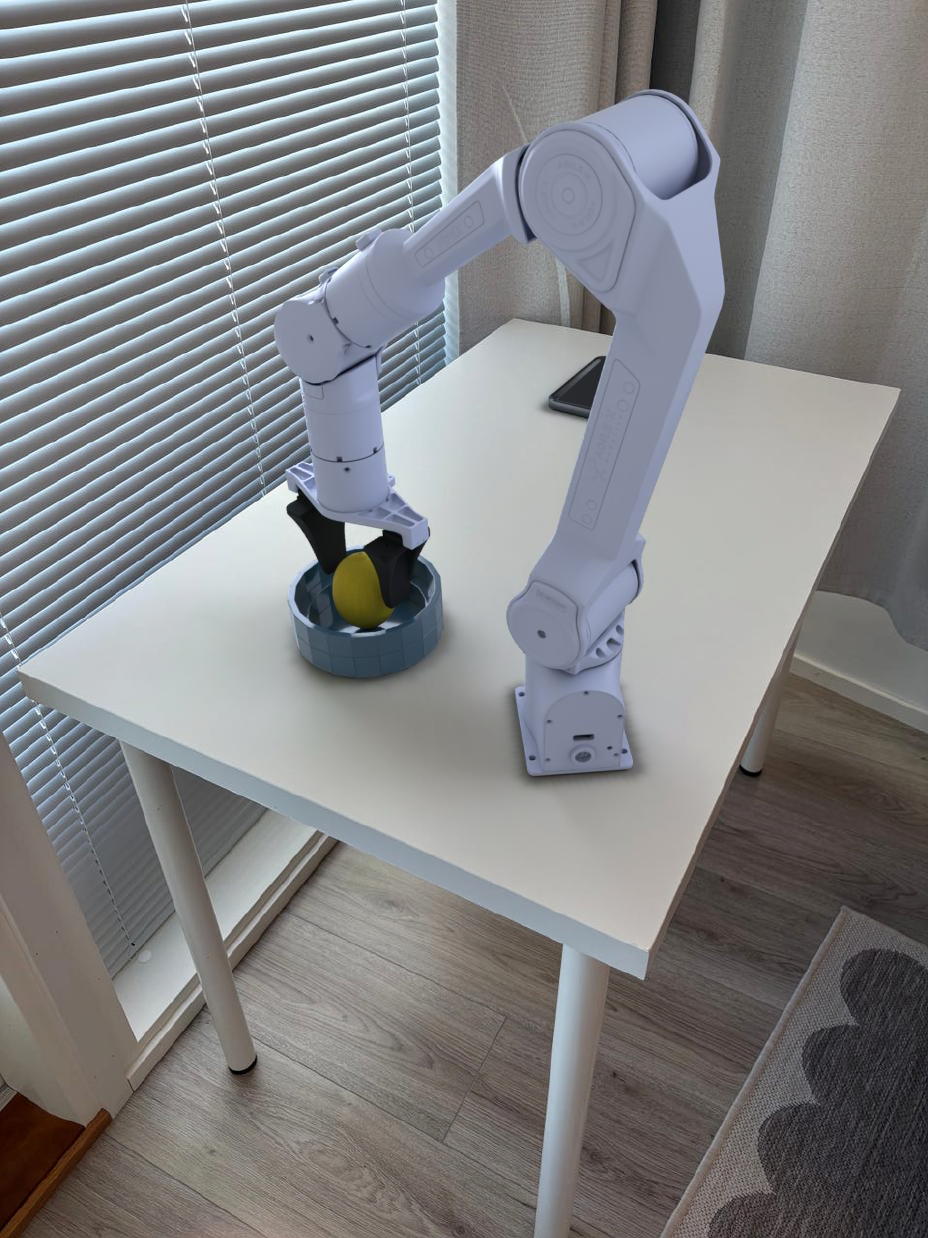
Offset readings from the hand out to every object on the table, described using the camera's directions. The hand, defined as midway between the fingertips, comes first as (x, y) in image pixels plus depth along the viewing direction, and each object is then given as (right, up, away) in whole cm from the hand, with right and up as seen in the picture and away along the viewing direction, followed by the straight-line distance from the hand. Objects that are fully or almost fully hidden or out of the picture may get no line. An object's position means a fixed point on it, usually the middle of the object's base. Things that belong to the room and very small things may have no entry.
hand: (365, 585), depth 82 cm
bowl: (0, -4, +3) cm, 5 cm away
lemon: (0, -4, +3) cm, 5 cm away
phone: (+26, +26, +39) cm, 54 cm away
